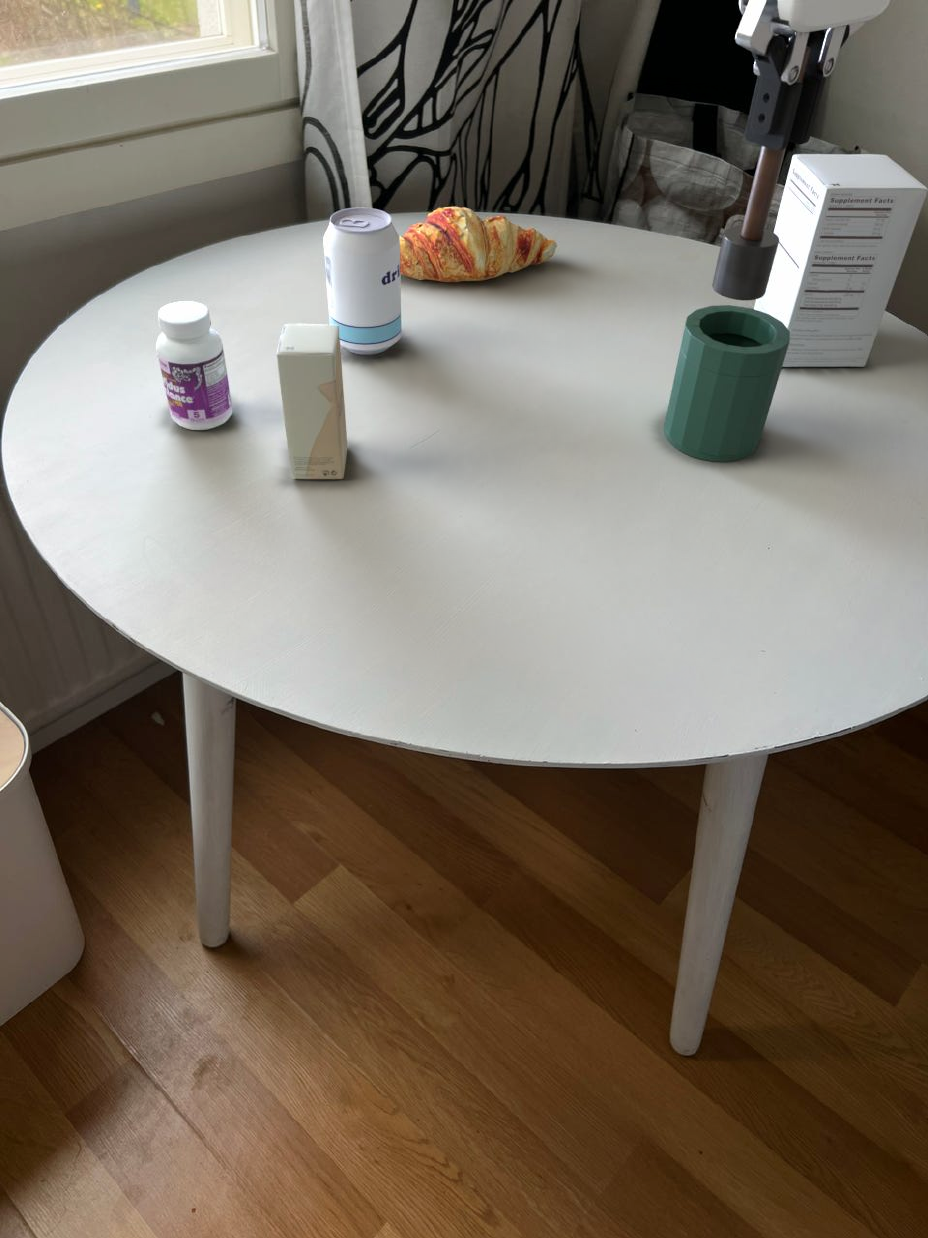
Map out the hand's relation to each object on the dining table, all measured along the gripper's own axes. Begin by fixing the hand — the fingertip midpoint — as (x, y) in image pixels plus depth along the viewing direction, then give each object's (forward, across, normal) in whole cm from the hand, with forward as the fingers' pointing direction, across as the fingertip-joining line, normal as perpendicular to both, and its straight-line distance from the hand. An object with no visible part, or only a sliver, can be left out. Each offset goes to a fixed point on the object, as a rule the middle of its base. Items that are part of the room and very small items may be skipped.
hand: (776, 139), depth 62 cm
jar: (+24, +2, 0) cm, 24 cm away
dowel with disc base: (+11, 0, 0) cm, 11 cm away
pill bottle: (+25, -33, +28) cm, 50 cm away
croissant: (+25, +4, +39) cm, 47 cm away
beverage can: (+25, -14, +31) cm, 42 cm away
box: (+25, -28, +17) cm, 41 cm away
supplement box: (+25, +22, +6) cm, 34 cm away
